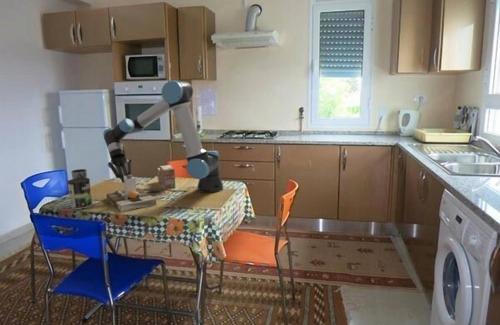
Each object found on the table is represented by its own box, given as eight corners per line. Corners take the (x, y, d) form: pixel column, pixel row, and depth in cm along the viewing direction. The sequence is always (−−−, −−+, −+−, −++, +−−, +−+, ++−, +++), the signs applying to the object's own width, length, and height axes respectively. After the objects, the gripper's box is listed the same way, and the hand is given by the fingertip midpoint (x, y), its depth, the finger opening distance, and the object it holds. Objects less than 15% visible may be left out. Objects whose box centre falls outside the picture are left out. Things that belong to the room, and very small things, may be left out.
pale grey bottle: (125, 196, 196) (123, 175, 194) (135, 194, 199) (133, 173, 196) (127, 197, 194) (125, 176, 191) (136, 196, 196) (134, 174, 194)
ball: (139, 194, 193) (137, 194, 196) (133, 189, 191) (131, 189, 195) (134, 200, 191) (132, 200, 194) (128, 195, 190) (126, 195, 193)
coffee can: (96, 203, 196) (93, 177, 194) (84, 209, 187) (81, 182, 184) (79, 202, 199) (76, 177, 196) (66, 208, 189) (63, 182, 186)
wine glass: (92, 195, 211) (89, 170, 208) (77, 199, 206) (74, 172, 203) (86, 193, 217) (83, 168, 214) (72, 196, 211) (68, 170, 208)
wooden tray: (106, 198, 204) (106, 191, 203) (138, 192, 214) (138, 185, 213) (121, 211, 182) (120, 203, 181) (156, 204, 192) (155, 196, 191)
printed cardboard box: (158, 181, 239) (156, 163, 237) (167, 180, 242) (166, 162, 239) (165, 189, 220) (163, 169, 218) (175, 188, 223) (174, 168, 220)
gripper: (126, 154, 213) (138, 188, 203) (103, 157, 206) (114, 192, 196) (128, 146, 208) (140, 181, 198) (104, 149, 201) (116, 185, 191)
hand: (127, 186), depth 197 cm, fingers closed
